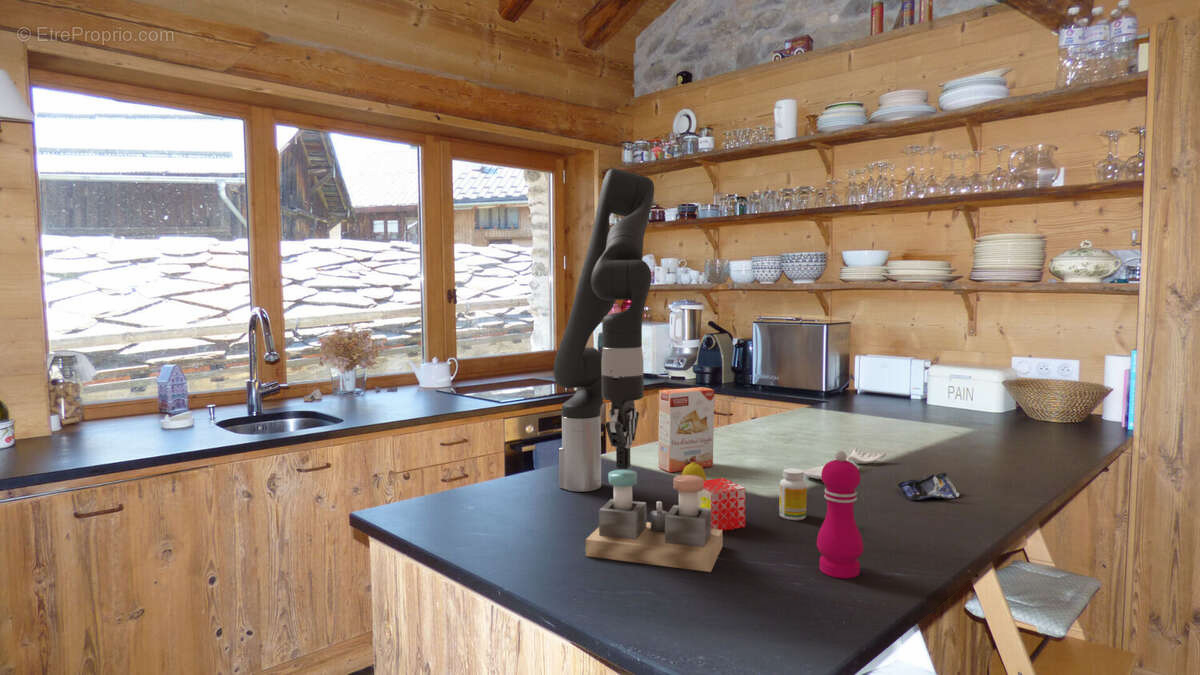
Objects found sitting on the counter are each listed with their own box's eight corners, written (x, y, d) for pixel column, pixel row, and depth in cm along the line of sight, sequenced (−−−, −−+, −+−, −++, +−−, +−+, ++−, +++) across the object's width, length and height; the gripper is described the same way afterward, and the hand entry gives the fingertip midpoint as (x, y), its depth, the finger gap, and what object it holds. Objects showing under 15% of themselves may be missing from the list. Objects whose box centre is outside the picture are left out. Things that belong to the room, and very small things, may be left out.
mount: (585, 556, 119) (585, 513, 119) (607, 533, 130) (607, 494, 130) (710, 572, 112) (710, 526, 111) (722, 546, 123) (722, 505, 123)
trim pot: (648, 531, 123) (648, 504, 122) (653, 525, 126) (653, 498, 125) (665, 533, 122) (665, 505, 121) (670, 527, 125) (669, 500, 124)
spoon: (887, 463, 182) (888, 450, 182) (828, 487, 161) (828, 473, 160) (855, 457, 189) (855, 445, 189) (794, 480, 167) (794, 466, 167)
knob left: (604, 512, 121) (604, 476, 121) (613, 503, 126) (613, 468, 125) (632, 515, 119) (632, 478, 119) (640, 506, 124) (640, 470, 124)
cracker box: (670, 473, 173) (670, 392, 172) (657, 468, 178) (657, 389, 177) (714, 467, 179) (715, 388, 178) (701, 462, 185) (701, 385, 183)
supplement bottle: (773, 514, 140) (774, 469, 140) (793, 510, 143) (794, 465, 142) (791, 522, 136) (792, 475, 135) (812, 518, 138) (812, 471, 137)
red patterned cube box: (689, 520, 137) (689, 482, 137) (722, 515, 141) (722, 477, 140) (711, 533, 130) (711, 492, 130) (745, 527, 133) (745, 487, 133)
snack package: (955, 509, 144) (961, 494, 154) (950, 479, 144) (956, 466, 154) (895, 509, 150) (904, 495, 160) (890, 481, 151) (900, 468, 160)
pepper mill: (809, 563, 115) (810, 446, 114) (850, 561, 116) (852, 445, 114) (827, 581, 108) (828, 457, 107) (871, 579, 108) (873, 455, 107)
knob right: (670, 519, 117) (670, 481, 117) (677, 510, 122) (677, 473, 121) (700, 522, 115) (700, 484, 115) (705, 512, 120) (706, 476, 120)
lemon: (705, 501, 150) (705, 465, 149) (680, 500, 151) (680, 464, 150) (706, 494, 155) (706, 459, 155) (682, 492, 156) (682, 458, 156)
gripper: (613, 367, 128) (614, 458, 130) (590, 375, 116) (591, 475, 117) (652, 368, 126) (653, 460, 127) (632, 377, 114) (633, 479, 115)
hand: (623, 467), depth 122 cm, fingers closed
